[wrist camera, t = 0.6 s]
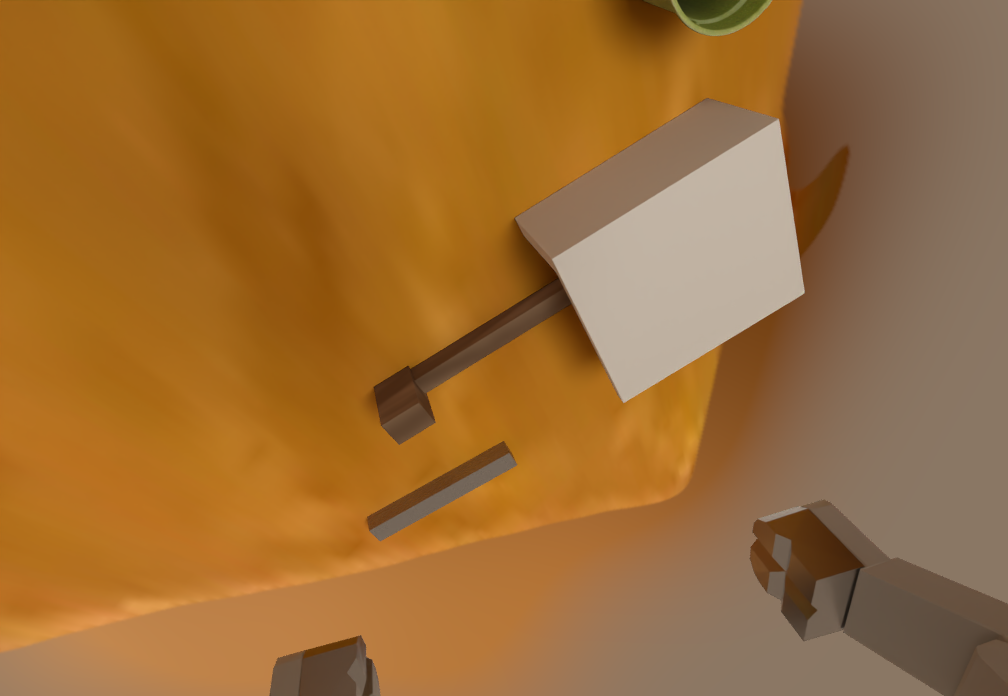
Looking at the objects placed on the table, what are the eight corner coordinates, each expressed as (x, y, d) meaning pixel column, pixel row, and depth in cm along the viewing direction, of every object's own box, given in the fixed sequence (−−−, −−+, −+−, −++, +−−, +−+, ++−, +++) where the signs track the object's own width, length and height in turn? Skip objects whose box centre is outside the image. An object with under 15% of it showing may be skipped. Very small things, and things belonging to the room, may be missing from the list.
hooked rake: (349, 360, 53) (354, 398, 48) (645, 176, 52) (681, 197, 47) (411, 428, 59) (421, 467, 55) (674, 266, 58) (708, 292, 54)
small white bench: (514, 218, 50) (551, 259, 43) (707, 98, 49) (778, 118, 42) (584, 351, 61) (623, 403, 54) (742, 254, 60) (804, 293, 53)
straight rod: (367, 514, 65) (369, 530, 63) (503, 438, 65) (509, 452, 63) (377, 525, 66) (380, 541, 64) (510, 451, 66) (517, 465, 64)
